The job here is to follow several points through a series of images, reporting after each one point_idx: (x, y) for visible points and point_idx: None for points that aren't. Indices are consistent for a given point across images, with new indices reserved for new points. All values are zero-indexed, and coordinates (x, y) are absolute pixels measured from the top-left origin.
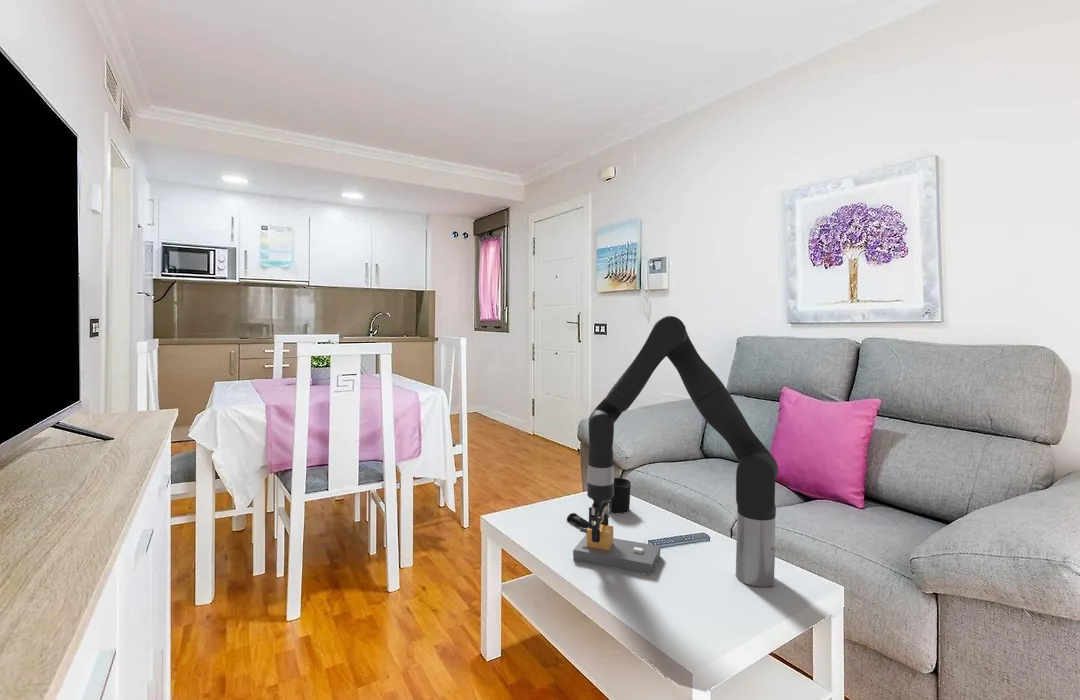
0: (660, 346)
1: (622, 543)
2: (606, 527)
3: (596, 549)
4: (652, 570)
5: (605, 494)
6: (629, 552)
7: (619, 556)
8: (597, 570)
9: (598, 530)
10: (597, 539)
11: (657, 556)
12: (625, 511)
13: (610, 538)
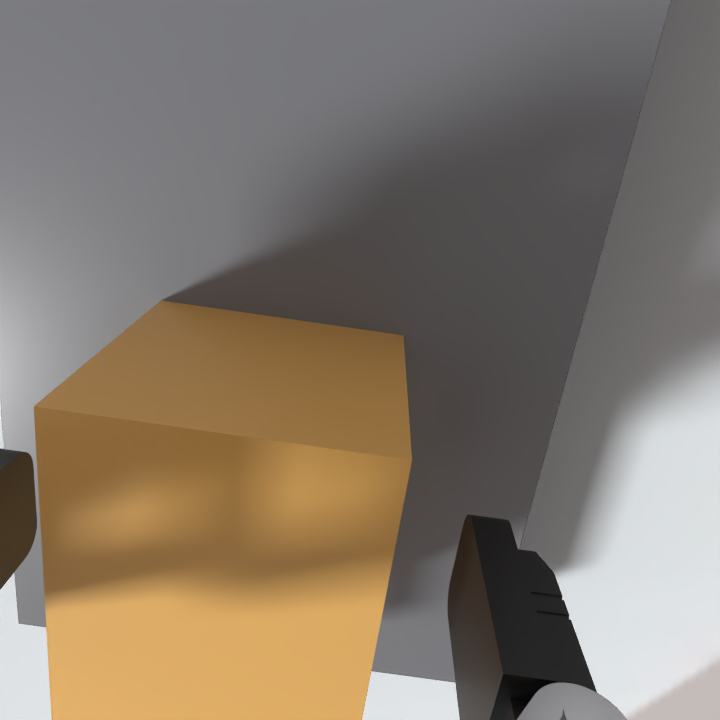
0: None
1: (112, 169)
2: (150, 525)
3: (414, 475)
4: None
5: None
6: (395, 15)
7: (571, 159)
8: (645, 373)
9: (549, 681)
10: (532, 567)
11: None
12: None
13: (286, 370)
